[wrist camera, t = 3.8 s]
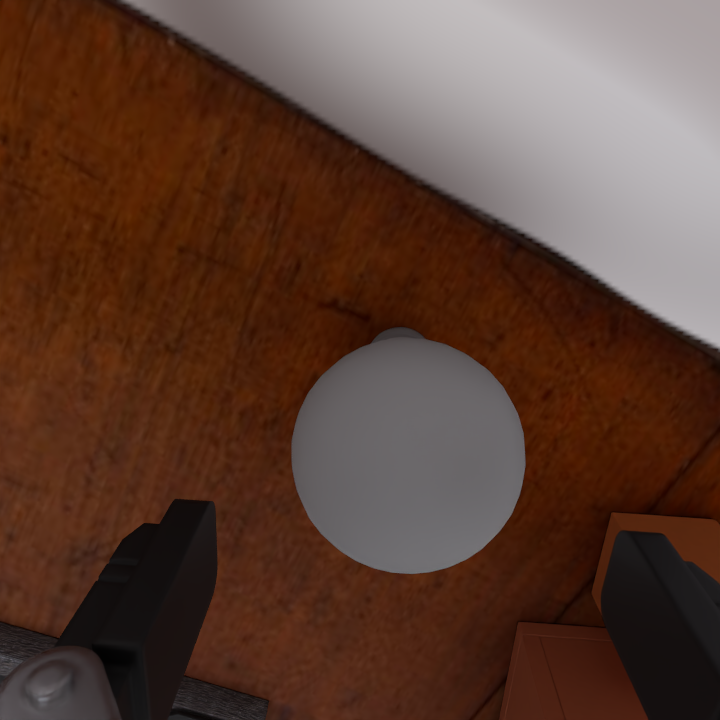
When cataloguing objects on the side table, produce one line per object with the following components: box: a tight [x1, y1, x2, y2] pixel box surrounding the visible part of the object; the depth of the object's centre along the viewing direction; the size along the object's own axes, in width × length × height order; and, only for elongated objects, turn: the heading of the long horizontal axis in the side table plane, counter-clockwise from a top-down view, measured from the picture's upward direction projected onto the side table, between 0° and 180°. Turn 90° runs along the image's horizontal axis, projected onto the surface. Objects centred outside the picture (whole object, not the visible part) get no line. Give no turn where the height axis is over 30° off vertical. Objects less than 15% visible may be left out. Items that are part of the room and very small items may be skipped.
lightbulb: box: [292, 327, 525, 574], centre depth 18 cm, size 6×6×11 cm
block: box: [591, 512, 720, 616], centre depth 24 cm, size 4×4×4 cm
